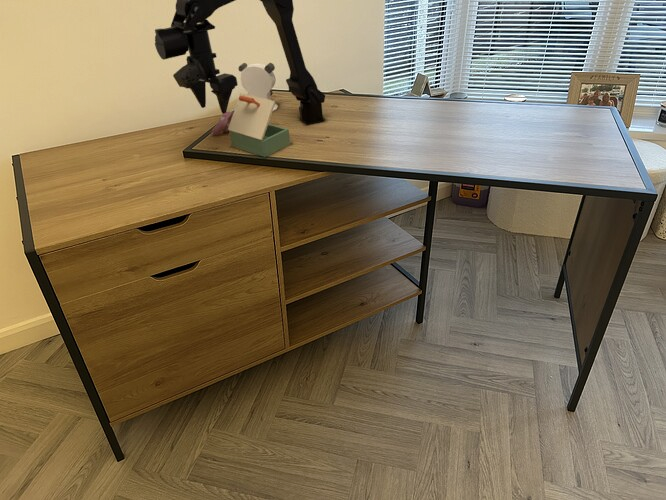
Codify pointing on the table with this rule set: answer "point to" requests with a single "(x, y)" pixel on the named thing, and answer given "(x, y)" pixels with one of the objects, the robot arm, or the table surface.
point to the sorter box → (262, 141)
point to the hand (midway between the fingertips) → (213, 110)
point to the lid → (251, 116)
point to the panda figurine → (258, 80)
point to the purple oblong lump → (223, 123)
